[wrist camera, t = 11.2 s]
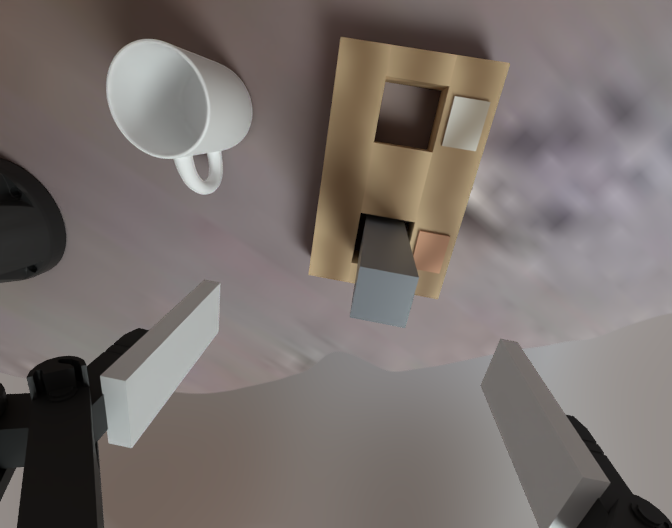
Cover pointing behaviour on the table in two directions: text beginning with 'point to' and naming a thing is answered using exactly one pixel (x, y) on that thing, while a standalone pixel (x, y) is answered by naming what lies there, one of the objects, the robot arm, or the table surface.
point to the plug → (384, 273)
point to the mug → (178, 106)
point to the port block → (402, 156)
